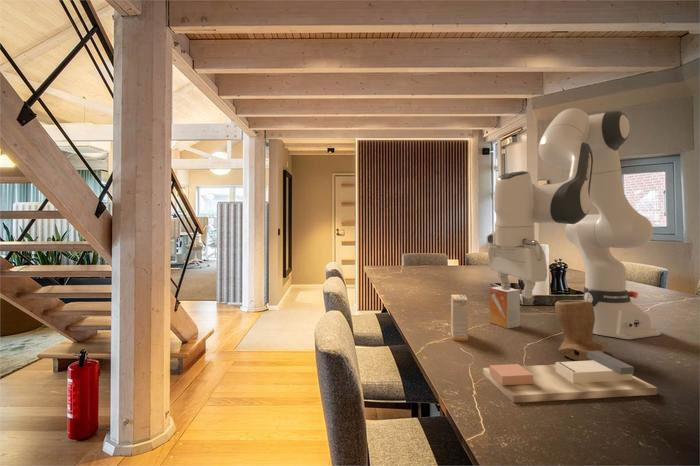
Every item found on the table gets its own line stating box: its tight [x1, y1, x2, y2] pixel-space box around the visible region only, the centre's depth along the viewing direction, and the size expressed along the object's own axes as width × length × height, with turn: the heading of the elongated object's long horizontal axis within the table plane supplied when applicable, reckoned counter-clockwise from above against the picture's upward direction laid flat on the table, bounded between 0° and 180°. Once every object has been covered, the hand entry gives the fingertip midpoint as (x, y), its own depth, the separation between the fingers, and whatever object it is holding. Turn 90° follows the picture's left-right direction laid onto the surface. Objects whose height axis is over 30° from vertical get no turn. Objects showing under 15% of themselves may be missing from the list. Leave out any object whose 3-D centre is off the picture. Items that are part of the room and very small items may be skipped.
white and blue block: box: [555, 351, 635, 383], centre depth 83 cm, size 14×10×4 cm
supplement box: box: [450, 294, 469, 342], centre depth 117 cm, size 8×5×13 cm, turn 168°
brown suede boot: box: [554, 299, 605, 361], centre depth 101 cm, size 15×12×15 cm
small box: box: [489, 286, 521, 329], centre depth 129 cm, size 8×6×13 cm
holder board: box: [482, 364, 658, 403], centre depth 83 cm, size 32×14×2 cm, turn 95°
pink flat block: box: [489, 363, 533, 385], centre depth 82 cm, size 7×6×2 cm
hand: (515, 293), depth 90 cm, fingers open, 8 cm apart
